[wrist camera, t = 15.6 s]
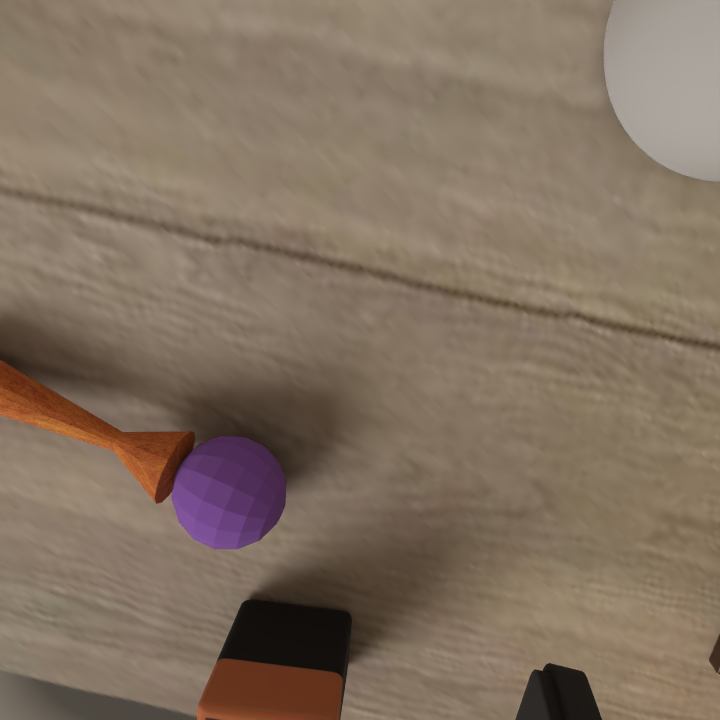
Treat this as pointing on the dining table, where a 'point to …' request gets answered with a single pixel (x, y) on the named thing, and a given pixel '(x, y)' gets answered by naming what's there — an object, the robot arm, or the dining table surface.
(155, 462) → the kendama
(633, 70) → the cylinder vase
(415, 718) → the dining table surface
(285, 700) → the battery
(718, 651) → the rod stand
